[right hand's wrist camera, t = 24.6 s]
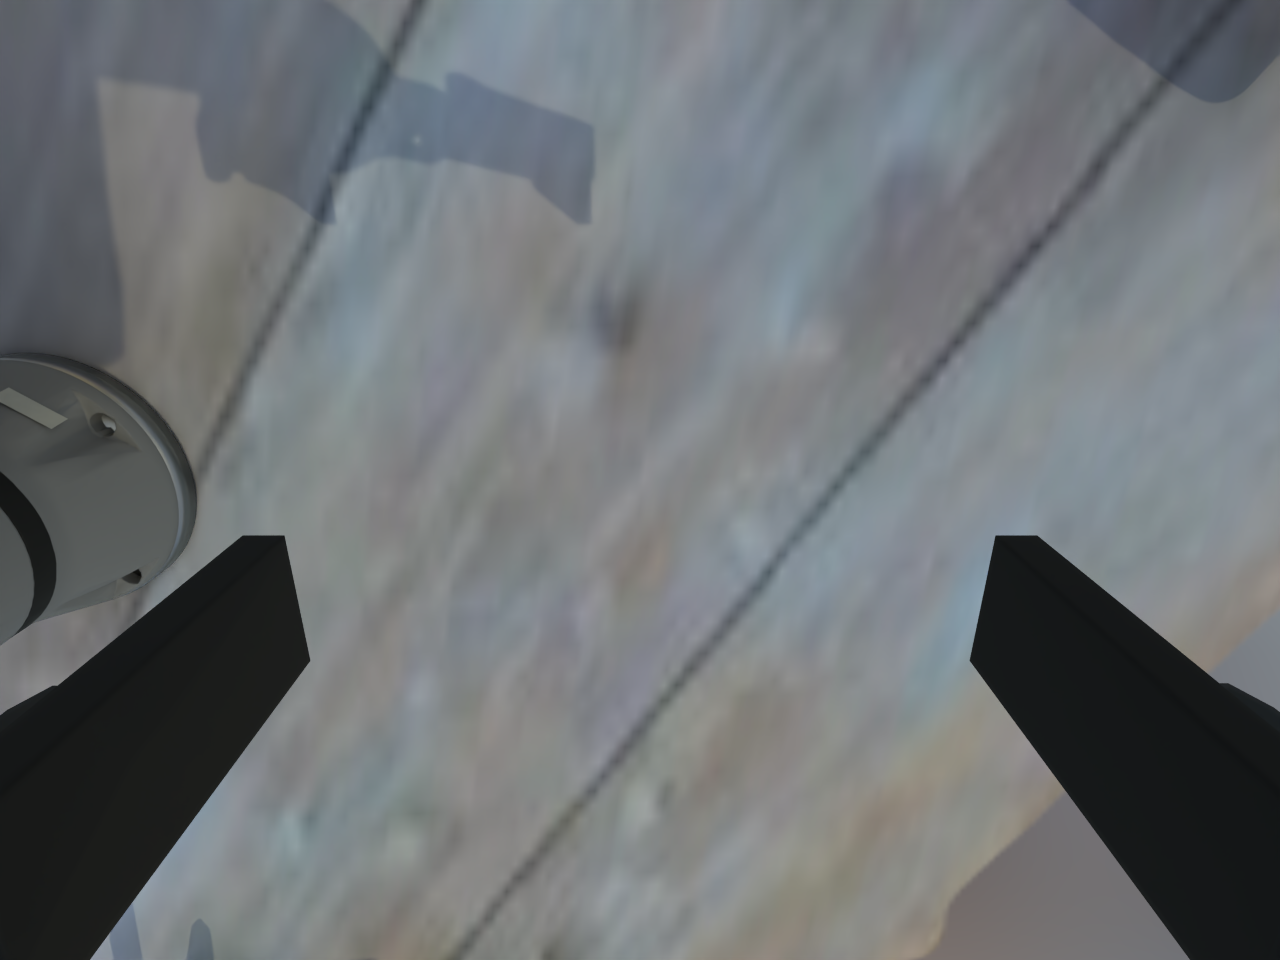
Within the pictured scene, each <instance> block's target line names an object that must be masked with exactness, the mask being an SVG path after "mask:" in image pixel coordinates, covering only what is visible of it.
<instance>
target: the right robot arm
mask: <svg viewBox="0 0 1280 960" xmlns="http://www.w3.org/2000/svg"><path fill="white" fill-rule="evenodd" d="M195 516H196V494H195V487H194V482H193V478H192V474H191V471H190V468H189V465H188V463H187V460H186V458H185V456H184V454H183V452H182V450H181V448H180V446H179V444H178V442H177V441H176V439H175V438H174V436H173V434H172V433H171V432H170V430H169V429H168V427H167V426H166V425H165V423H164V422H163V421H162V420H161V419H160V418H159V416H158V415H157V414H156V413H155V412H154V411H153V410H152V409H151V408H150V407H149V406H148V405H147V404H146V403H145V402H144V401H143V400H142V399H140V398H139V397H138V396H137V395H136V394H134V393H133V392H132V391H131V390H129V389H128V388H126V387H125V386H124V385H122V384H121V383H119V382H118V381H116V380H114V379H113V378H111V377H109V376H108V375H106V374H104V373H102V372H100V371H98V370H96V369H94V368H91V367H89V366H87V365H84V364H82V363H79V362H76V361H73V360H70V359H66V358H62V357H57V356H52V355H46V354H36V353H15V354H8V355H1V356H0V645H2V644H3V643H4V642H6V641H7V640H8V639H10V638H11V637H13V636H14V635H16V634H17V633H19V632H20V631H22V630H23V629H25V628H26V627H28V626H29V625H31V624H32V623H34V622H37V621H41V620H44V619H47V618H51V617H54V616H58V615H61V614H65V613H68V612H71V611H75V610H78V609H82V608H85V607H89V606H92V605H95V604H99V603H102V602H106V601H109V600H113V599H116V598H118V597H121V596H123V595H126V594H129V593H131V592H133V591H135V590H137V589H139V588H141V587H142V586H144V585H146V584H147V583H148V582H150V581H151V580H152V579H154V578H155V577H156V576H158V575H159V574H160V573H162V572H163V571H164V570H165V569H167V568H168V567H169V566H170V565H171V564H172V563H173V562H174V561H175V560H176V559H177V558H178V557H179V556H180V554H181V553H182V552H183V550H184V548H185V547H186V545H187V543H188V541H189V539H190V536H191V534H192V530H193V527H194V523H195ZM309 662H310V657H309V652H308V647H307V642H306V638H305V633H304V628H303V623H302V618H301V614H300V609H299V604H298V599H297V594H296V589H295V585H294V580H293V575H292V570H291V565H290V560H289V556H288V551H287V546H286V541H285V536H242V537H240V538H239V539H238V540H237V541H236V542H234V543H233V544H232V545H231V546H229V547H228V548H227V549H226V550H224V551H223V552H222V553H221V554H220V555H218V556H217V557H216V558H215V559H213V560H212V561H211V562H210V563H208V564H207V565H206V566H205V567H203V568H202V569H201V570H200V571H199V572H197V573H196V574H195V575H194V576H192V577H191V578H190V579H189V580H187V581H186V582H185V583H184V584H183V585H181V586H180V587H179V588H178V589H176V590H175V591H174V592H173V593H171V594H170V595H169V596H168V597H167V598H165V599H164V600H163V601H162V602H160V603H159V604H158V605H157V606H155V607H154V608H153V609H152V610H151V611H149V612H148V613H147V614H146V615H144V616H143V617H142V618H141V619H139V620H138V621H137V622H136V623H134V624H133V625H132V626H131V627H130V628H128V629H127V630H126V631H125V632H123V633H122V634H121V635H120V636H118V637H117V638H116V639H115V640H114V641H112V642H111V643H110V644H109V645H107V646H106V647H105V648H104V649H102V650H101V651H100V652H99V653H98V654H96V655H95V656H94V657H93V658H91V659H90V660H89V661H88V662H86V663H85V664H84V665H83V666H82V667H80V668H79V669H78V670H77V671H75V672H74V673H73V674H72V675H70V676H69V677H68V678H67V679H65V680H64V681H63V682H62V683H61V684H59V685H58V686H51V687H49V688H48V689H46V690H44V691H42V692H40V693H38V694H36V695H34V696H33V697H31V698H29V699H27V700H25V701H23V702H21V703H20V704H18V705H16V706H14V707H12V708H10V709H8V710H7V711H5V712H4V713H3V714H2V715H0V960H90V959H91V958H92V956H93V955H94V953H95V952H96V951H97V949H98V948H99V947H100V945H101V944H102V943H103V941H104V940H105V939H106V937H107V936H108V934H109V933H110V932H111V930H112V929H113V928H114V926H115V925H116V924H117V922H118V921H119V920H120V918H121V917H122V915H123V914H124V913H125V911H126V910H127V909H128V907H129V906H130V905H131V903H132V902H133V901H134V899H135V898H136V896H137V895H138V894H139V892H140V891H141V890H142V888H143V887H144V886H145V884H146V883H147V882H148V880H149V879H150V877H151V876H152V875H153V873H154V872H155V871H156V869H157V868H158V867H159V865H160V864H161V863H162V861H163V860H164V858H165V857H166V856H167V854H168V853H169V852H170V850H171V849H172V848H173V846H174V845H175V844H176V842H177V841H178V839H179V838H180V837H181V835H182V834H183V833H184V831H185V830H186V829H187V827H188V826H189V825H190V823H191V822H192V820H193V819H194V818H195V816H196V815H197V814H198V812H199V811H200V810H201V808H202V807H203V806H204V804H205V803H206V801H207V800H208V799H209V797H210V796H211V795H212V793H213V792H214V791H215V789H216V788H217V787H218V785H219V784H220V782H221V781H222V780H223V778H224V777H225V776H226V774H227V773H228V772H229V770H230V769H231V768H232V766H233V765H234V763H235V762H236V761H237V759H238V758H239V757H240V755H241V754H242V753H243V751H244V750H245V749H246V747H247V746H248V744H249V743H250V742H251V740H252V739H253V738H254V736H255V735H256V734H257V732H258V731H259V730H260V728H261V727H262V725H263V724H264V723H265V721H266V720H267V719H268V717H269V716H270V715H271V713H272V712H273V711H274V709H275V708H276V706H277V705H278V704H279V702H280V701H281V700H282V698H283V697H284V696H285V694H286V693H287V692H288V690H289V689H290V687H291V686H292V685H293V683H294V682H295V681H296V679H297V678H298V677H299V675H300V674H301V673H302V671H303V670H304V668H305V667H306V666H307V664H308V663H309ZM970 662H971V663H972V664H973V666H974V667H975V668H976V670H977V671H978V673H979V674H980V675H981V677H982V678H983V679H984V681H985V682H986V683H987V685H988V686H989V687H990V689H991V690H992V692H993V693H994V694H995V696H996V697H997V698H998V700H999V701H1000V702H1001V704H1002V705H1003V706H1004V708H1005V709H1006V711H1007V712H1008V713H1009V715H1010V716H1011V717H1012V719H1013V720H1014V721H1015V723H1016V724H1017V725H1018V727H1019V728H1020V730H1021V731H1022V732H1023V734H1024V735H1025V736H1026V738H1027V739H1028V740H1029V742H1030V743H1031V744H1032V746H1033V747H1034V749H1035V750H1036V751H1037V753H1038V754H1039V755H1040V757H1041V758H1042V759H1043V761H1044V762H1045V763H1046V765H1047V766H1048V768H1049V769H1050V770H1051V772H1052V773H1053V774H1054V776H1055V777H1056V778H1057V780H1058V781H1059V782H1060V784H1061V785H1062V787H1063V788H1064V789H1065V791H1066V792H1067V793H1068V795H1069V796H1070V797H1071V799H1072V800H1073V801H1074V803H1075V804H1076V806H1077V807H1078V808H1079V810H1080V811H1081V812H1082V814H1083V815H1084V816H1085V818H1086V819H1087V820H1088V822H1089V823H1090V824H1091V826H1092V827H1093V829H1094V830H1095V831H1096V833H1097V834H1098V835H1099V837H1100V838H1101V839H1102V841H1103V842H1104V844H1105V845H1106V846H1107V848H1108V849H1109V850H1110V852H1111V853H1112V854H1113V856H1114V857H1115V858H1116V860H1117V861H1118V863H1119V864H1120V865H1121V867H1122V868H1123V869H1124V871H1125V872H1126V873H1127V875H1128V876H1129V877H1130V879H1131V880H1132V882H1133V883H1134V884H1135V886H1136V887H1137V888H1138V890H1139V891H1140V892H1141V894H1142V895H1143V896H1144V898H1145V899H1146V901H1147V902H1148V903H1149V905H1150V906H1151V907H1152V909H1153V910H1154V911H1155V913H1156V914H1157V915H1158V917H1159V918H1160V920H1161V921H1162V922H1163V924H1164V925H1165V926H1166V928H1167V929H1168V930H1169V932H1170V933H1171V934H1172V936H1173V937H1174V938H1175V940H1176V941H1177V943H1178V944H1179V945H1180V947H1181V948H1182V949H1183V951H1184V952H1185V953H1186V955H1187V956H1188V958H1189V959H1190V960H1280V712H1279V711H1278V710H1276V709H1275V708H1274V707H1272V706H1270V705H1268V704H1266V703H1264V702H1262V701H1260V700H1259V699H1257V698H1255V697H1253V696H1251V695H1249V694H1247V693H1245V692H1244V691H1242V690H1240V689H1238V688H1236V687H1234V686H1232V685H1230V684H1228V683H1218V682H1217V681H1216V680H1214V679H1213V678H1212V677H1211V676H1210V675H1208V674H1207V673H1206V672H1205V671H1203V670H1202V669H1201V668H1200V667H1198V666H1197V665H1196V664H1195V663H1194V662H1192V661H1191V660H1190V659H1189V658H1187V657H1186V656H1185V655H1184V654H1182V653H1181V652H1180V651H1179V650H1178V649H1176V648H1175V647H1174V646H1173V645H1171V644H1170V643H1169V642H1168V641H1166V640H1165V639H1164V638H1163V637H1162V636H1160V635H1159V634H1158V633H1157V632H1155V631H1154V630H1153V629H1152V628H1150V627H1149V626H1148V625H1147V624H1146V623H1144V622H1143V621H1142V620H1141V619H1139V618H1138V617H1137V616H1136V615H1134V614H1133V613H1132V612H1131V611H1129V610H1128V609H1127V608H1126V607H1125V606H1123V605H1122V604H1121V603H1120V602H1118V601H1117V600H1116V599H1115V598H1113V597H1112V596H1111V595H1110V594H1109V593H1107V592H1106V591H1105V590H1104V589H1102V588H1101V587H1100V586H1099V585H1097V584H1096V583H1095V582H1094V581H1093V580H1091V579H1090V578H1089V577H1088V576H1086V575H1085V574H1084V573H1083V572H1081V571H1080V570H1079V569H1078V568H1077V567H1075V566H1074V565H1073V564H1072V563H1070V562H1069V561H1068V560H1067V559H1065V558H1064V557H1063V556H1062V555H1060V554H1059V553H1058V552H1057V551H1056V550H1054V549H1053V548H1052V547H1051V546H1049V545H1048V544H1047V543H1046V542H1044V541H1043V540H1042V539H1041V538H1040V537H1038V536H995V541H994V546H993V551H992V556H991V560H990V565H989V570H988V575H987V580H986V585H985V589H984V594H983V599H982V604H981V609H980V614H979V618H978V623H977V628H976V633H975V638H974V642H973V647H972V652H971V657H970Z"/></svg>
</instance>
